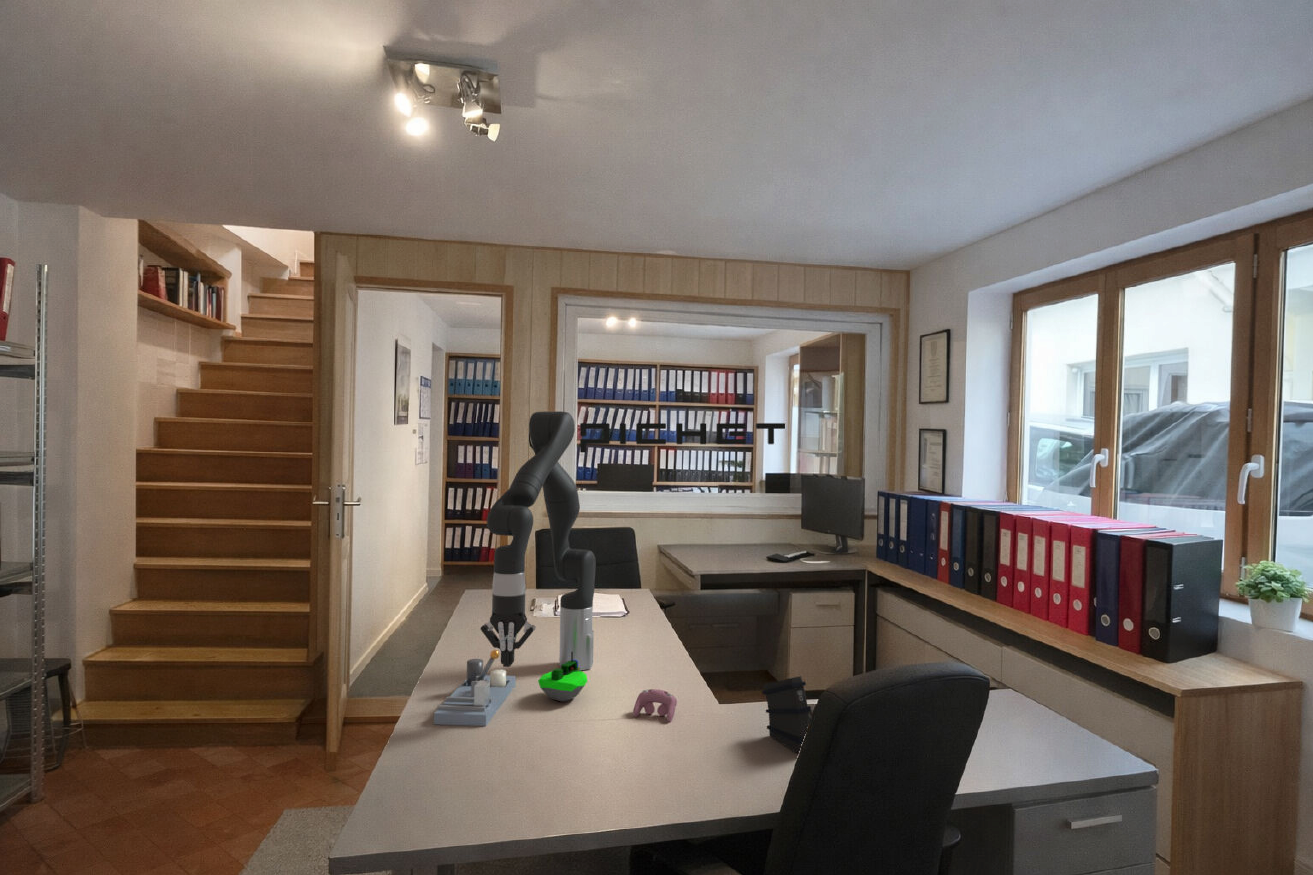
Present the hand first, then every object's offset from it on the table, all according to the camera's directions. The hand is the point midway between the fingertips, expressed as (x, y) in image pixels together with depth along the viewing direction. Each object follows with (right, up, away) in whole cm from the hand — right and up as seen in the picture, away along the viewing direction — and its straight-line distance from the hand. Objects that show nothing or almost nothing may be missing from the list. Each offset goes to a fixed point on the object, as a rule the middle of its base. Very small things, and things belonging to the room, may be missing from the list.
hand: (507, 665), depth 164 cm
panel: (-9, -12, +9) cm, 17 cm away
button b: (-12, -9, +16) cm, 22 cm away
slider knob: (-6, -9, +1) cm, 11 cm away
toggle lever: (-9, -7, +9) cm, 14 cm away
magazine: (+63, -13, -10) cm, 65 cm away
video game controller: (+34, -13, +3) cm, 37 cm away
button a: (-6, -12, +16) cm, 20 cm away
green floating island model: (+11, -13, +13) cm, 21 cm away
